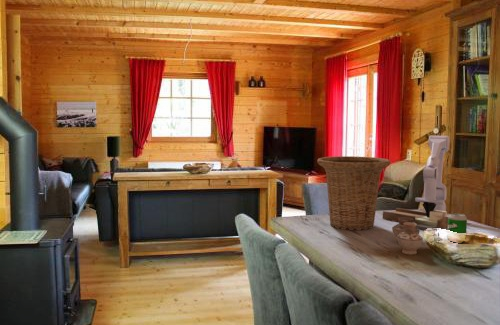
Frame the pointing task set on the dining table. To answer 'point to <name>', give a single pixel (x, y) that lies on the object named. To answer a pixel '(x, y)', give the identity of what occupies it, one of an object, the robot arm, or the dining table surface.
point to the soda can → (457, 223)
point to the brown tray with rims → (415, 217)
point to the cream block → (437, 215)
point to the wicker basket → (352, 189)
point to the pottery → (407, 235)
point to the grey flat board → (423, 226)
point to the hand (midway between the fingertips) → (428, 217)
